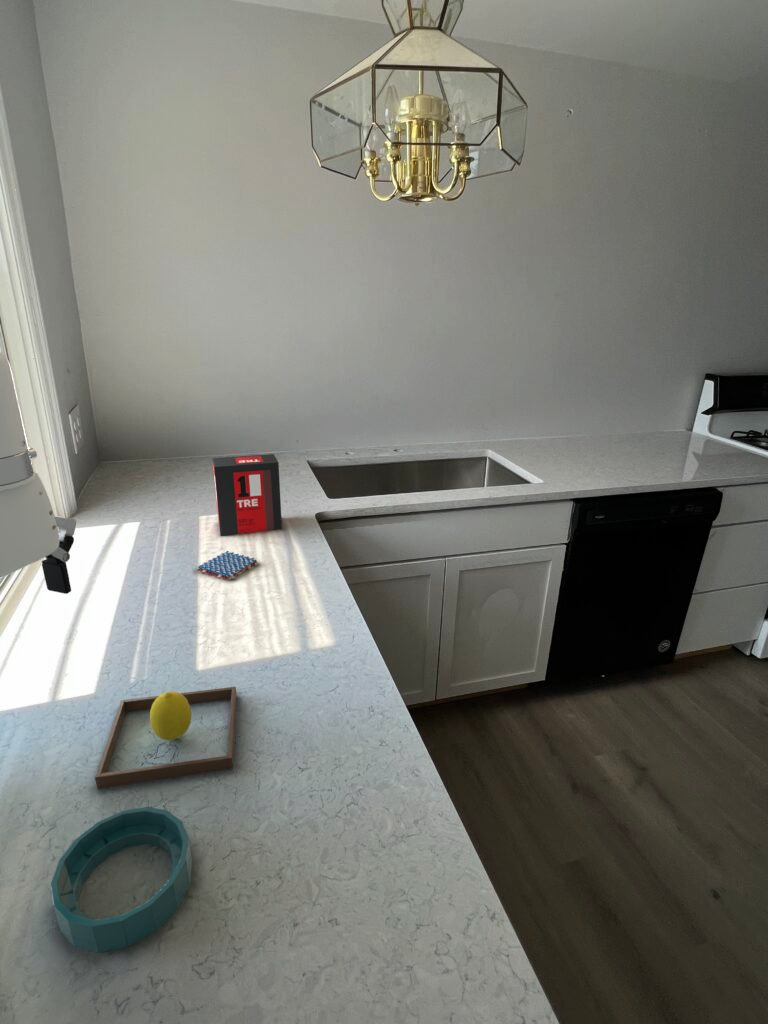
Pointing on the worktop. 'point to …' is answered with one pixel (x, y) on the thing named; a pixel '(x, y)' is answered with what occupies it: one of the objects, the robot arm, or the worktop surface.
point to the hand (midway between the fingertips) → (25, 610)
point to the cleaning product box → (247, 494)
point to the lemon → (170, 715)
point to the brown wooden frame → (165, 770)
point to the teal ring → (96, 848)
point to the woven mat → (227, 565)
